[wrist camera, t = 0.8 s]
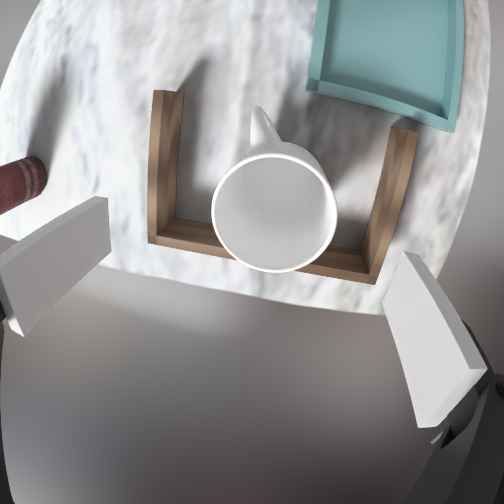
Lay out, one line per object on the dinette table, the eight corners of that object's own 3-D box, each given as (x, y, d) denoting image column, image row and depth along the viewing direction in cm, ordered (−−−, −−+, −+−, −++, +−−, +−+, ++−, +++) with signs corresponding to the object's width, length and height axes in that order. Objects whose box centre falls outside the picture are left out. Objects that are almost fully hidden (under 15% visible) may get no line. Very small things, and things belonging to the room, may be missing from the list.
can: (53, 185, 33) (-22, 224, 20) (31, 200, 34) (-36, 238, 22) (40, 147, 30) (-38, 174, 18) (19, 165, 32) (-51, 195, 20)
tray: (323, -49, 16) (325, -60, 14) (452, -6, 15) (462, -12, 13) (305, 91, 25) (306, 88, 22) (442, 130, 24) (454, 132, 21)
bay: (175, 93, 26) (153, 90, 22) (399, 129, 25) (418, 133, 20) (166, 225, 33) (147, 242, 28) (365, 261, 31) (375, 284, 27)
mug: (309, 100, 25) (317, 90, 15) (329, 215, 30) (343, 264, 20) (223, 117, 27) (184, 119, 17) (249, 227, 32) (228, 279, 22)
